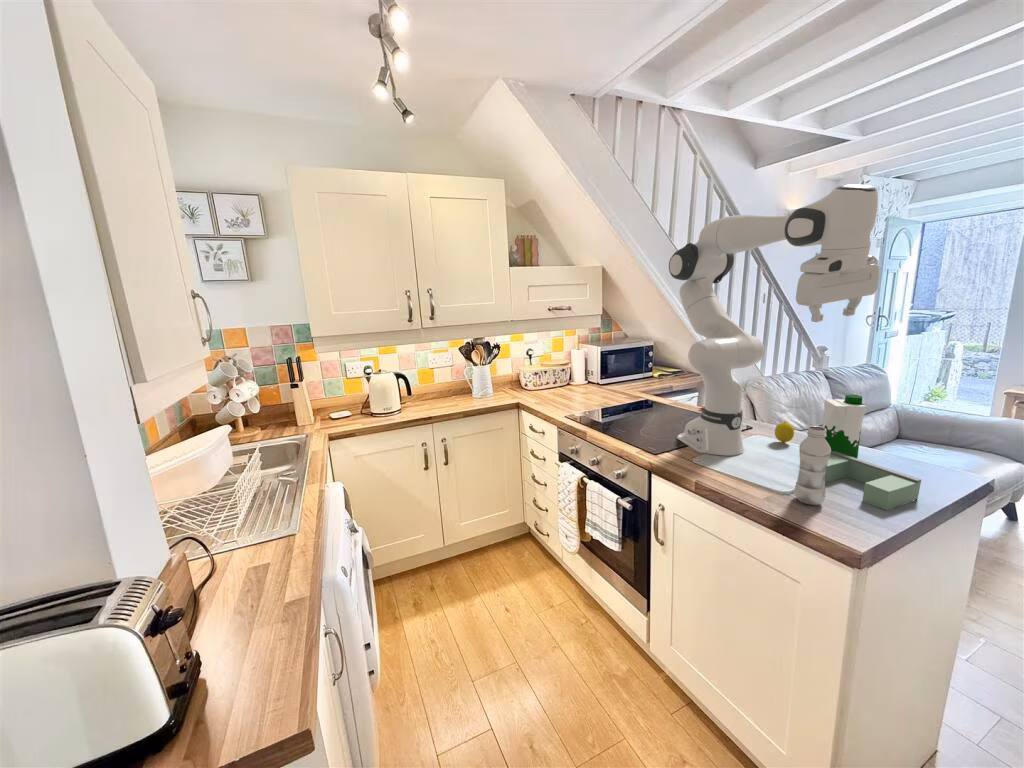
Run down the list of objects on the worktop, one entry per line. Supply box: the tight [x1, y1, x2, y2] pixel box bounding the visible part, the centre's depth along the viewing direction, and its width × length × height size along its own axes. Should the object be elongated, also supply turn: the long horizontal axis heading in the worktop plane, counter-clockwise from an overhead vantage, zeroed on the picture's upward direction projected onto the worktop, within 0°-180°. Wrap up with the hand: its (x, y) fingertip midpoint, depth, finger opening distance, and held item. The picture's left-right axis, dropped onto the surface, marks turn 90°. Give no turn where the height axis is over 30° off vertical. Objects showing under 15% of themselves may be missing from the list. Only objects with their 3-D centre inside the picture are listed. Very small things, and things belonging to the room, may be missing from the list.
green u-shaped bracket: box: [825, 451, 922, 511], centre depth 105 cm, size 20×12×6 cm, turn 18°
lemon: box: [774, 420, 795, 444], centre depth 137 cm, size 6×6×8 cm
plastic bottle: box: [793, 425, 831, 506], centre depth 99 cm, size 6×7×20 cm
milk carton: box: [821, 394, 868, 459], centre depth 122 cm, size 9×9×20 cm
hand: (832, 318), depth 97 cm, fingers open, 8 cm apart
